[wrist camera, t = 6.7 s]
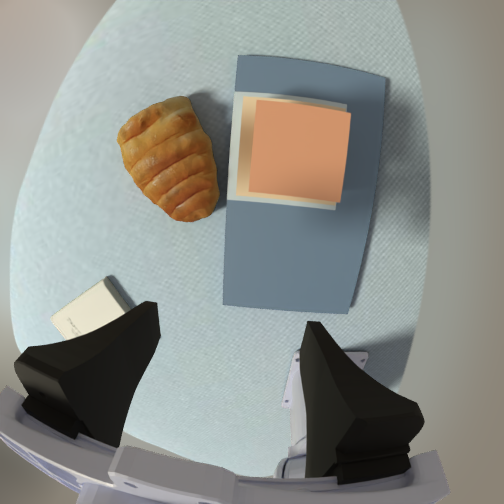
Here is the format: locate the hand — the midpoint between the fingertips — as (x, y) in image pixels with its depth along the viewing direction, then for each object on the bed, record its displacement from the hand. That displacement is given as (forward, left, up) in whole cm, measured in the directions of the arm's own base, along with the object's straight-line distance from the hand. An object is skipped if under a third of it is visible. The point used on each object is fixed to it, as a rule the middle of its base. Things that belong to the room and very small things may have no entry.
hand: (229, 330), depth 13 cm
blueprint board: (+5, -4, -10) cm, 12 cm away
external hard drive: (-11, +16, -11) cm, 22 cm away
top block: (+8, -2, -6) cm, 10 cm away
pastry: (+7, +6, -11) cm, 14 cm away
